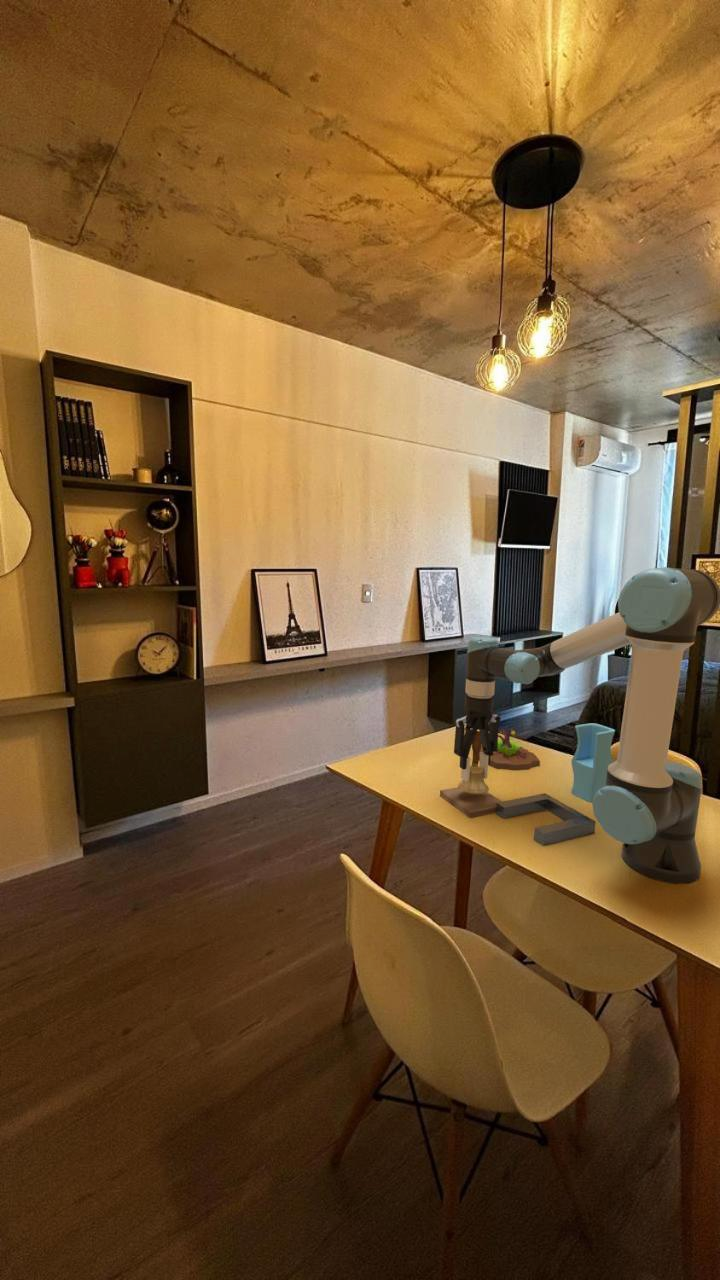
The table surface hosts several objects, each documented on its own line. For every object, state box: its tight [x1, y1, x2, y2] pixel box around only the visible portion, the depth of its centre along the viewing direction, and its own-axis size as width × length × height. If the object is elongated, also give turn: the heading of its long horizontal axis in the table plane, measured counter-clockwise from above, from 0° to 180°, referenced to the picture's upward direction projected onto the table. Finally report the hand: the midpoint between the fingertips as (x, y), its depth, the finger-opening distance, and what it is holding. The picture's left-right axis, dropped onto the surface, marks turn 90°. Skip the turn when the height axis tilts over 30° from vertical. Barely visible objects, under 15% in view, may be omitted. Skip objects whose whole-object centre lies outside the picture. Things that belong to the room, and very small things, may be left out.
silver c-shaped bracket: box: [495, 792, 596, 846], centre depth 133 cm, size 17×16×3 cm
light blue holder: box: [570, 722, 616, 803], centre depth 149 cm, size 8×8×20 cm
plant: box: [478, 728, 541, 771], centre depth 176 cm, size 20×20×11 cm
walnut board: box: [439, 786, 503, 819], centre depth 143 cm, size 14×12×2 cm
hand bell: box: [457, 730, 490, 794], centre depth 142 cm, size 8×8×16 cm
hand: (474, 778), depth 142 cm, fingers closed on hand bell, 5 cm apart
